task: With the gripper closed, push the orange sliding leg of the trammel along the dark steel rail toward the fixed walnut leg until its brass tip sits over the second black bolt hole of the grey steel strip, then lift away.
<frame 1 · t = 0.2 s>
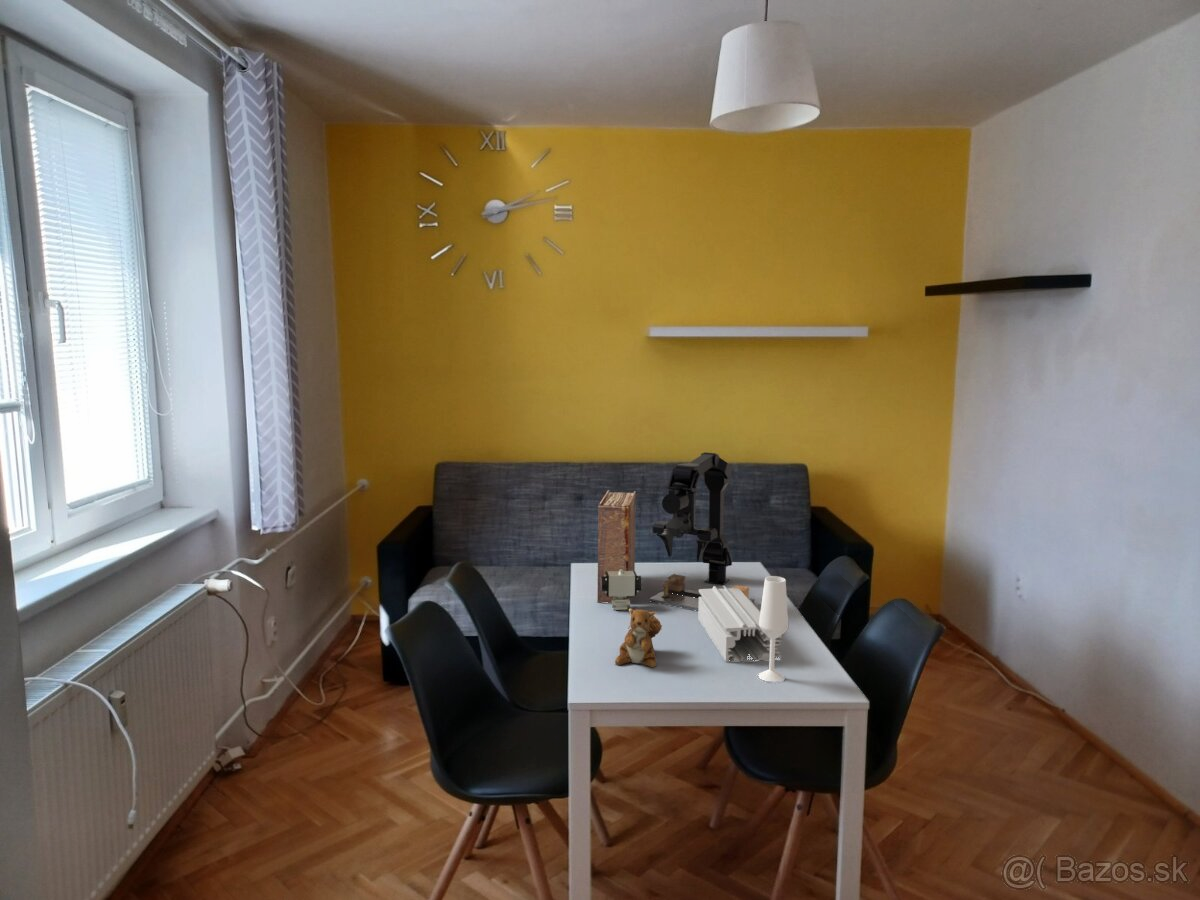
hand: (684, 558, 235), 14 cm above the table, tool pointing down, fingers open, 9 cm apart
sliding leg: (736, 597, 234), point 3 cm above the table, slide at 0.0 cm
pneumatic valve: (620, 609, 234), on the table
champagne flute: (771, 678, 187), on the table
book: (616, 591, 251), on the table
rail: (708, 599, 243), on the table
stuffed squirrel: (639, 658, 198), on the table
bolt-hole strip: (691, 605, 238), on the table
fixed leg: (676, 593, 248), resting on bolt-hole strip
aluminum extrusion profile: (736, 640, 212), on the table
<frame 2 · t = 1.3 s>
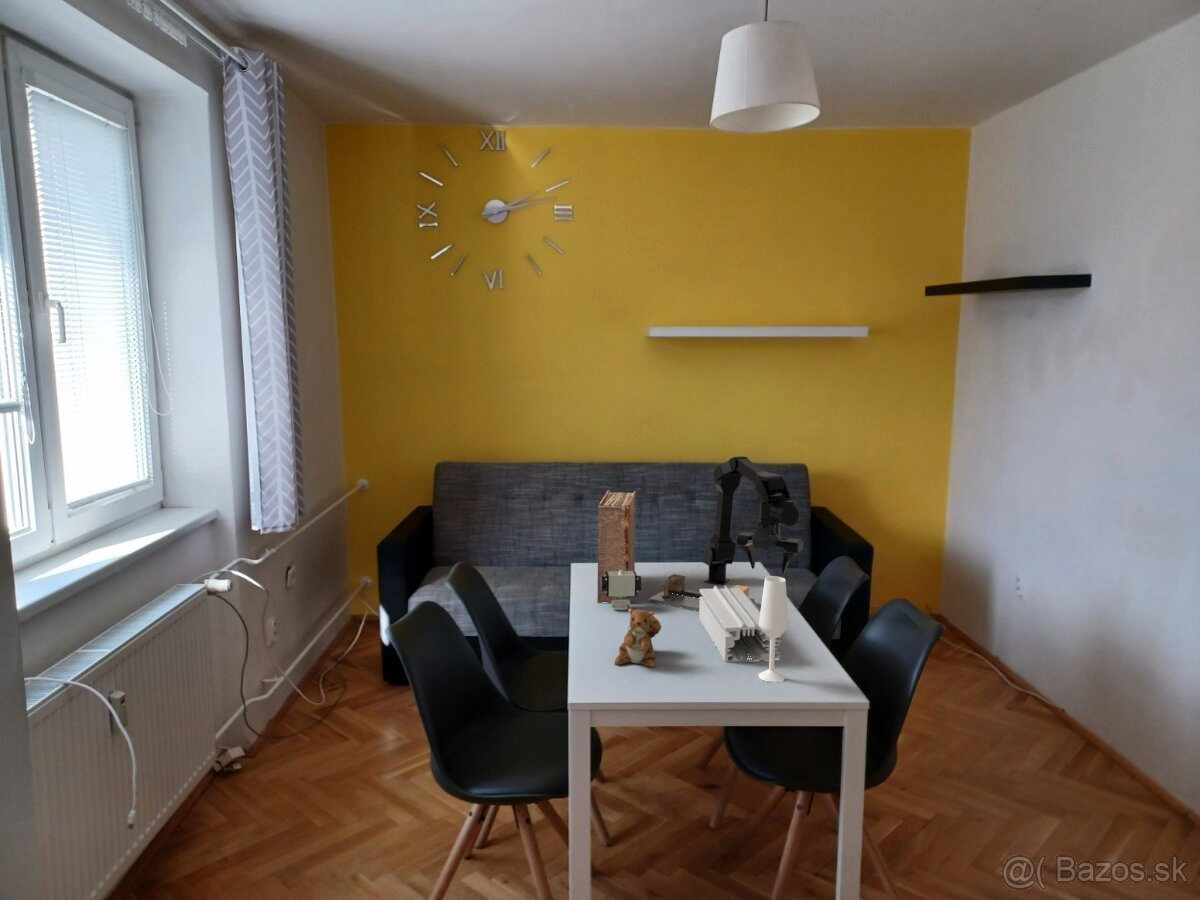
hand: (768, 570, 231), 12 cm above the table, tool pointing down, fingers open, 9 cm apart
nothing on the table moved.
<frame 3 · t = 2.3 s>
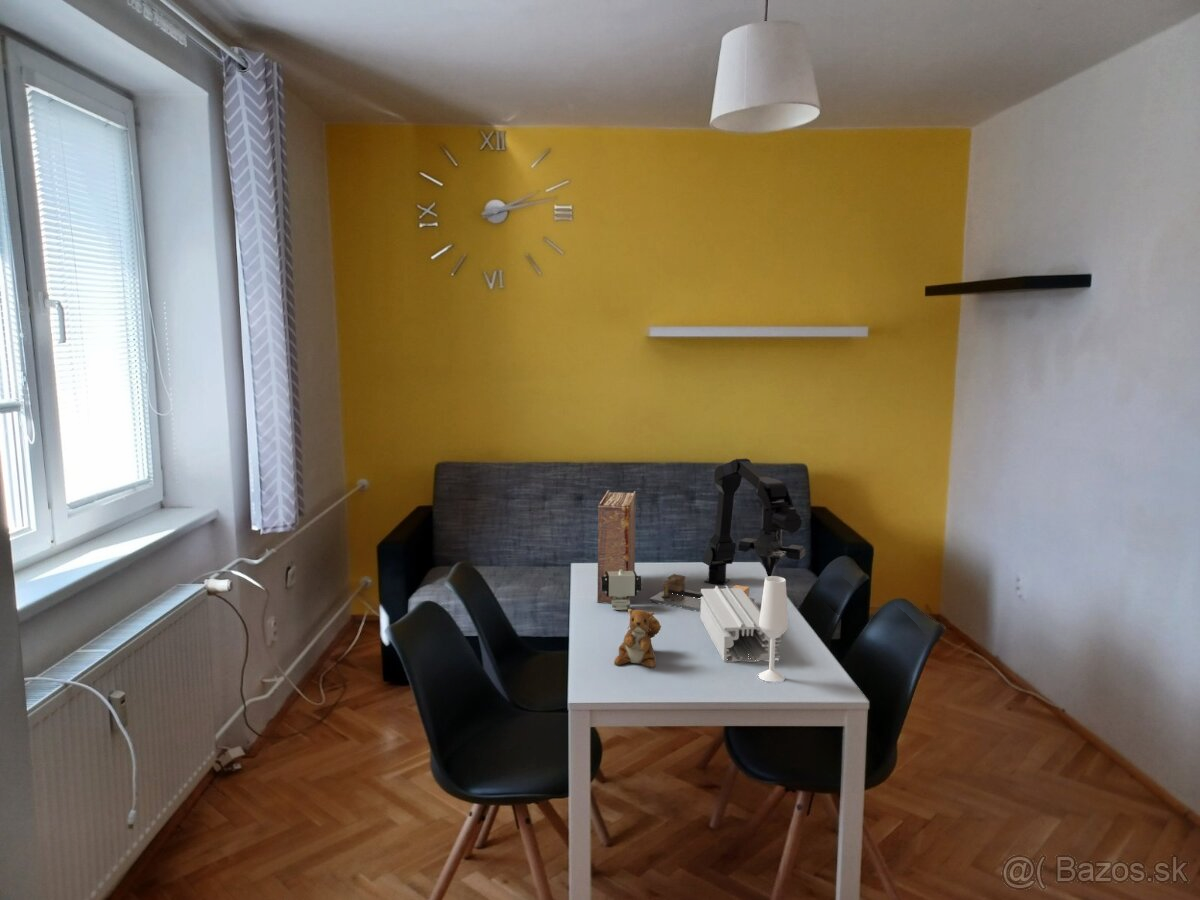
hand: (769, 576, 232), 10 cm above the table, tool pointing down, fingers closed
nothing on the table moved.
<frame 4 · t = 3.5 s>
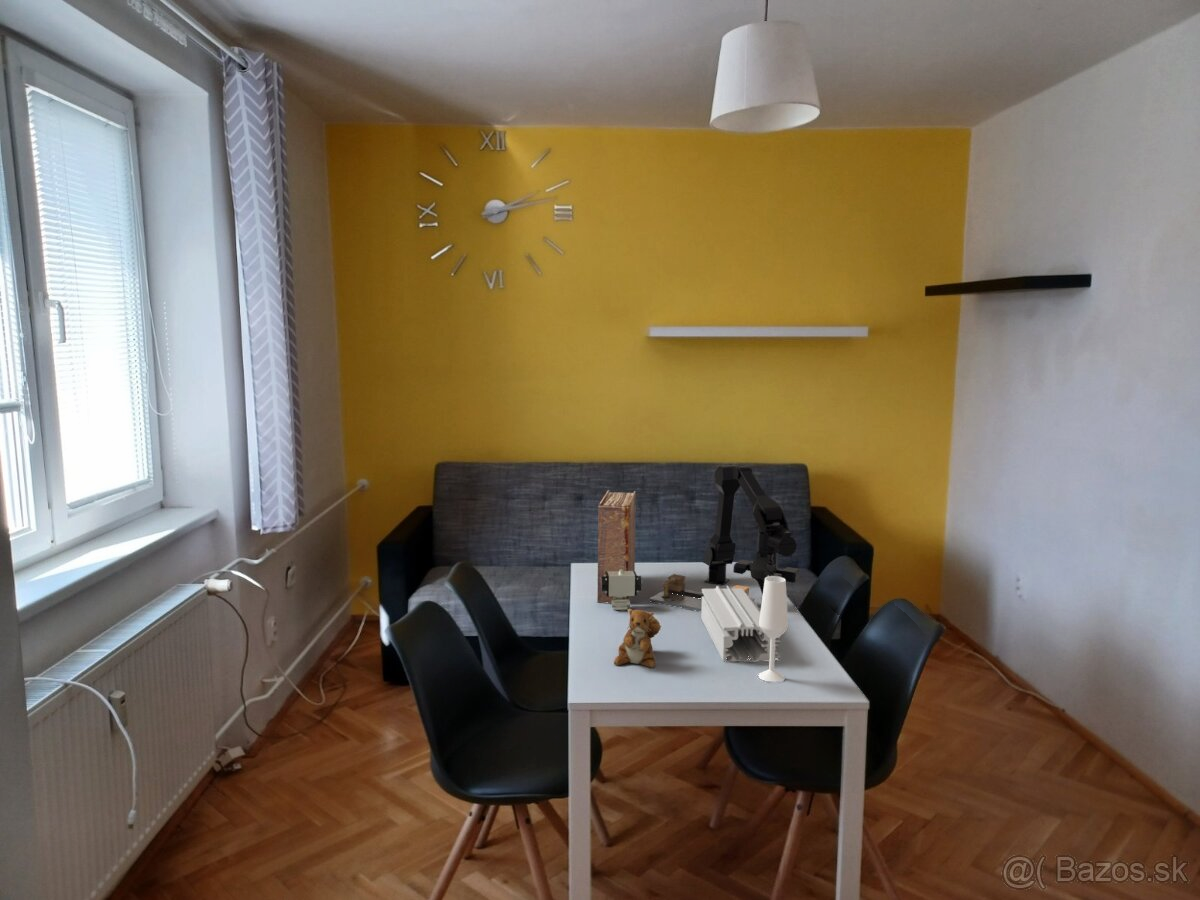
hand: (765, 599, 233), 3 cm above the table, tool pointing down, fingers closed
nothing on the table moved.
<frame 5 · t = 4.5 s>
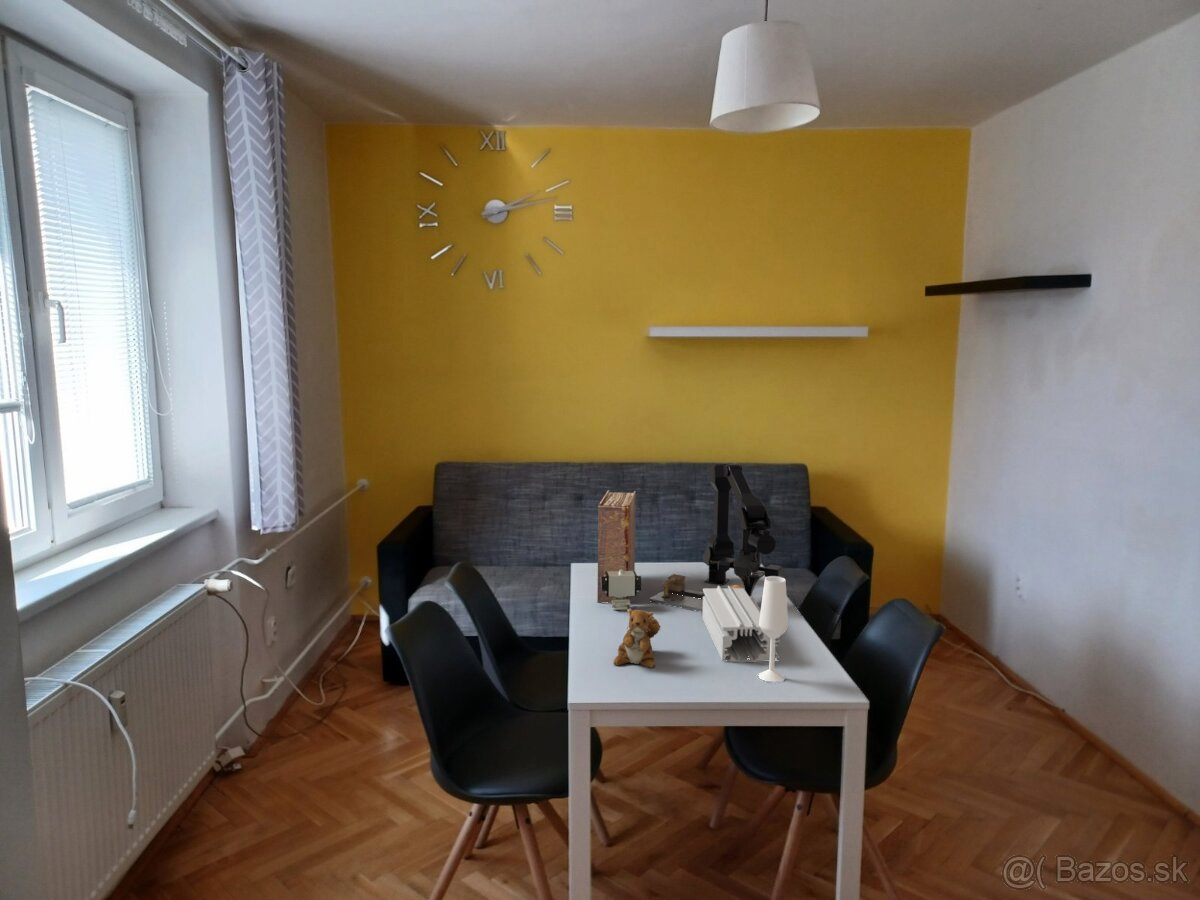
hand: (749, 596, 236), 3 cm above the table, tool pointing down, fingers closed
sliding leg: (734, 597, 235), point 3 cm above the table, slide at 0.6 cm, touching gripper
everything else where it was.
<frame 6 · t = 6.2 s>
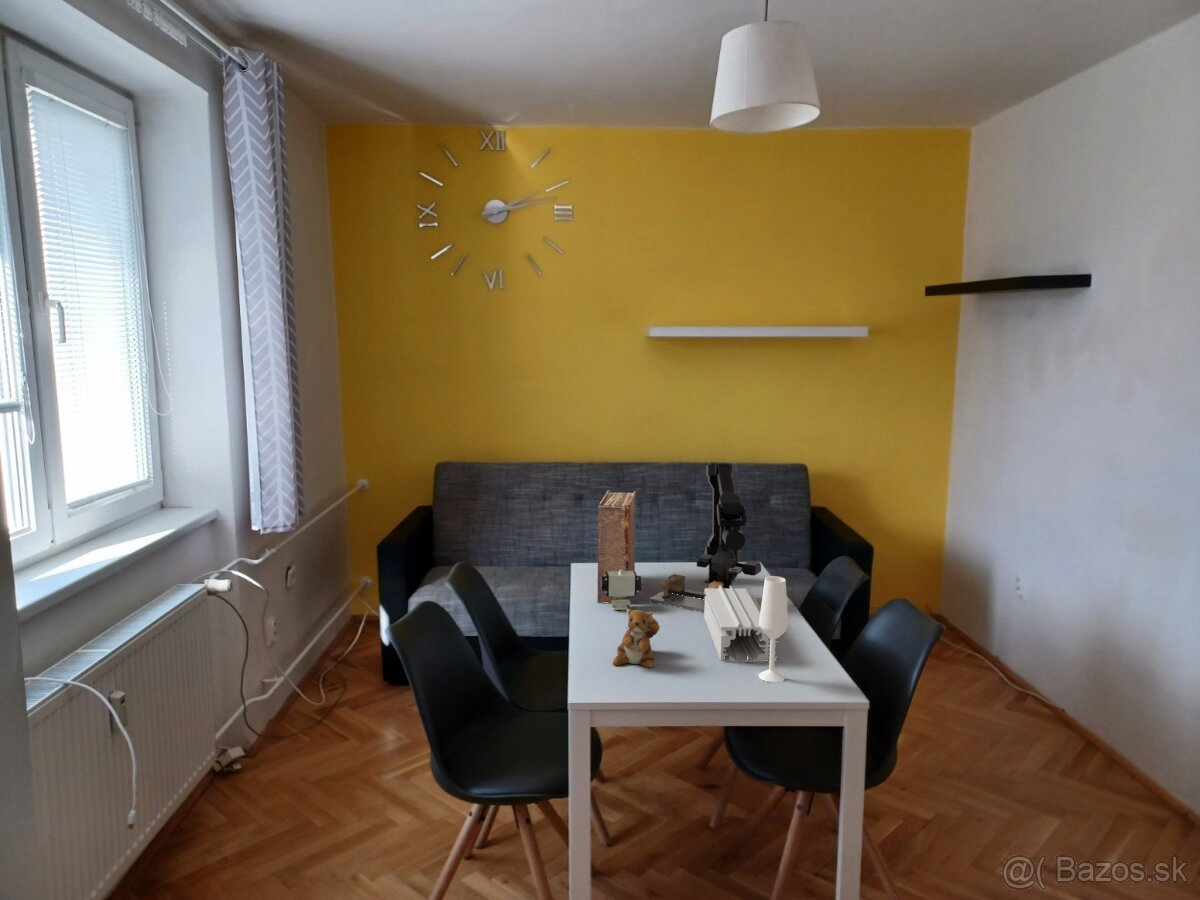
hand: (727, 592, 239), 3 cm above the table, tool pointing down, fingers closed
sliding leg: (713, 593, 238), point 3 cm above the table, slide at 7.3 cm, touching gripper
everything else where it was.
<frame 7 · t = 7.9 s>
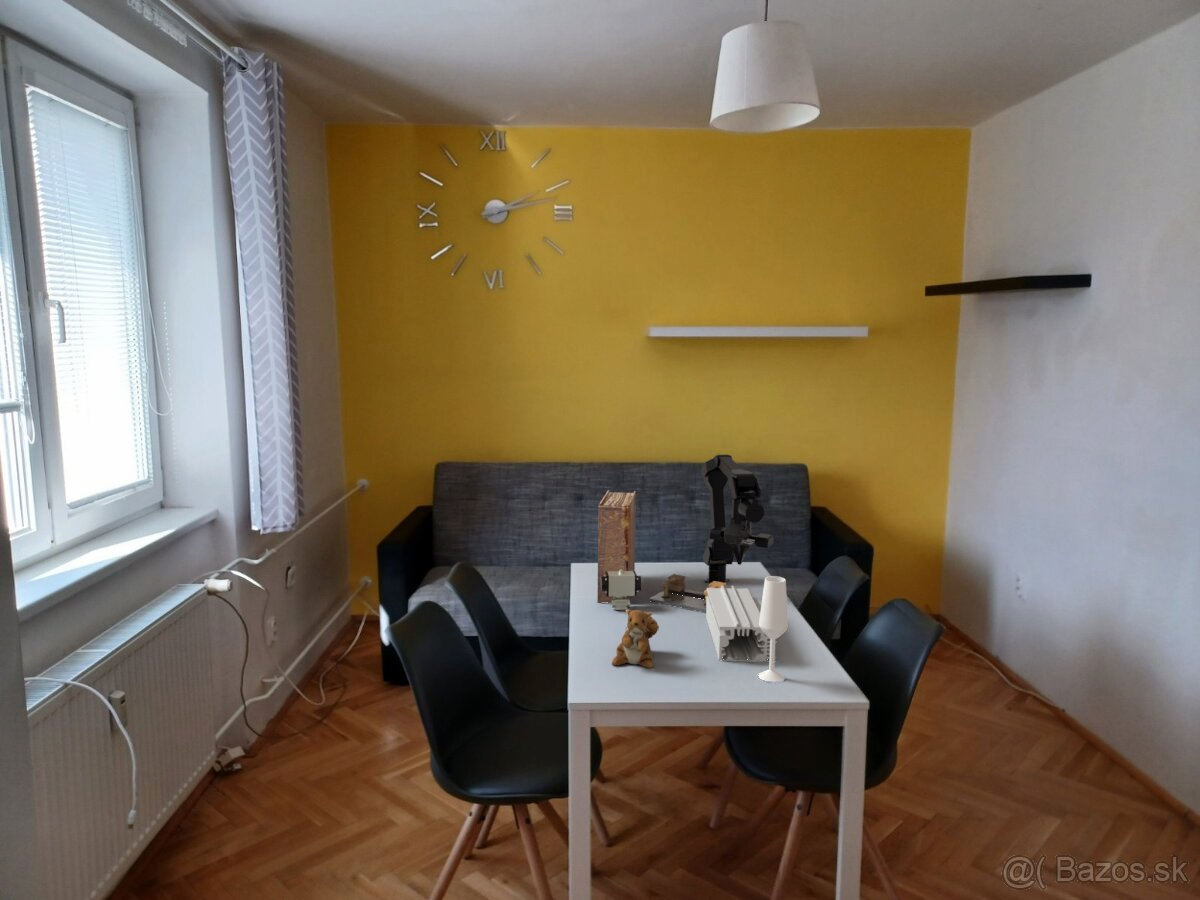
hand: (739, 564, 240), 12 cm above the table, tool pointing down, fingers closed
sliding leg: (713, 593, 238), point 3 cm above the table, slide at 7.3 cm
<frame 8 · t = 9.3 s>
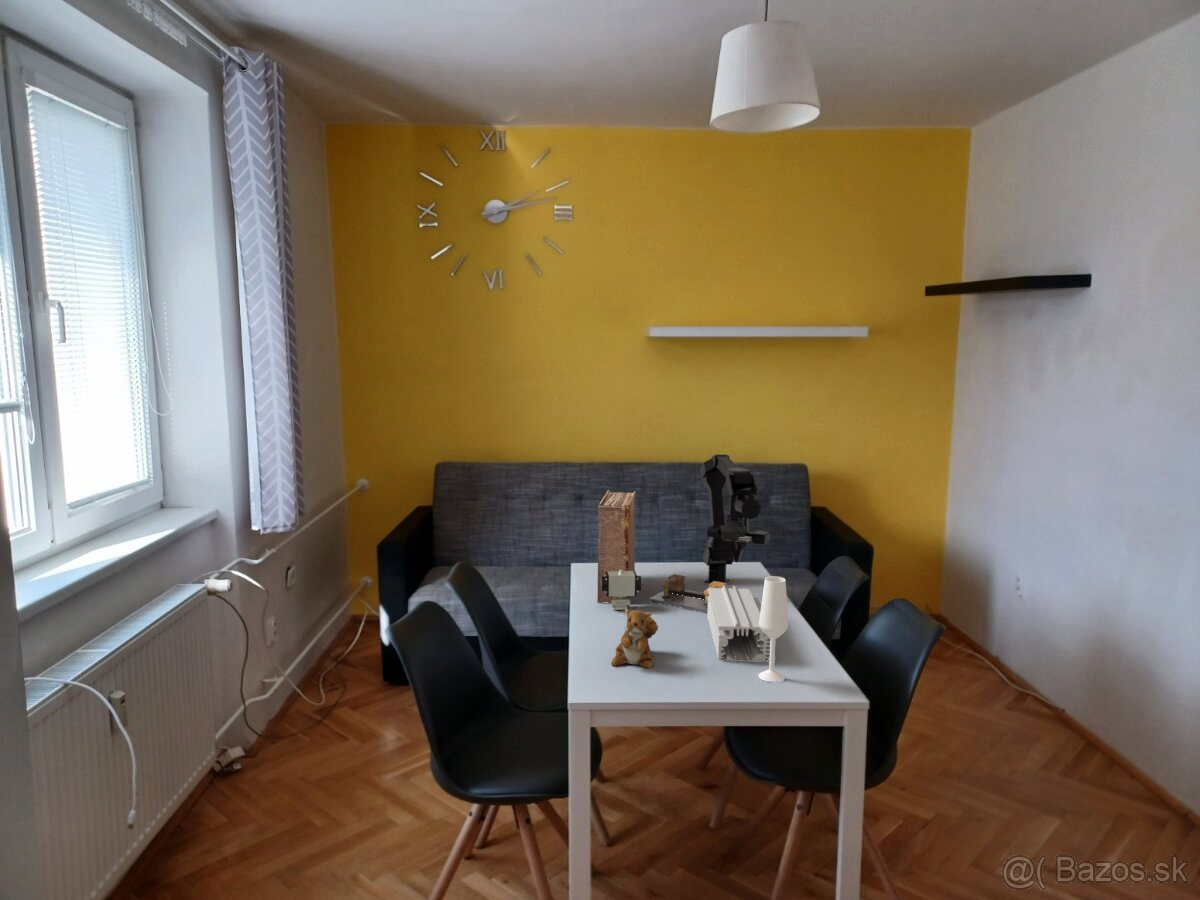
hand: (737, 561, 241), 12 cm above the table, tool pointing down, fingers closed
at the end: sliding leg slide at 7.3 cm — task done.
